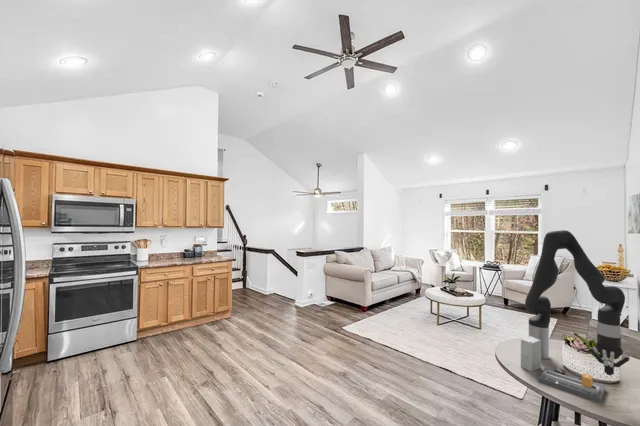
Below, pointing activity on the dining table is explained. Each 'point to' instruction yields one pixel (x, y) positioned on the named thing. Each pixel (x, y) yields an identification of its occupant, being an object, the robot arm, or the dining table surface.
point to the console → (571, 384)
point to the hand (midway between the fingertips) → (609, 374)
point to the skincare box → (531, 353)
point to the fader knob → (587, 380)
